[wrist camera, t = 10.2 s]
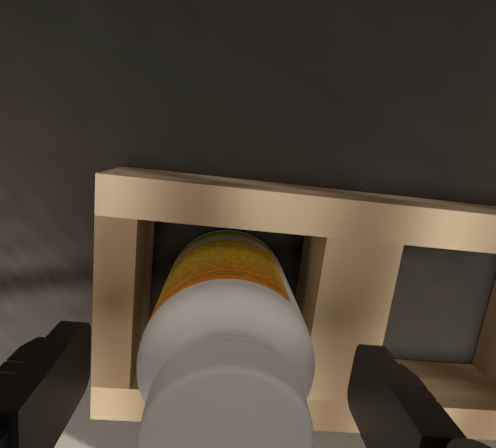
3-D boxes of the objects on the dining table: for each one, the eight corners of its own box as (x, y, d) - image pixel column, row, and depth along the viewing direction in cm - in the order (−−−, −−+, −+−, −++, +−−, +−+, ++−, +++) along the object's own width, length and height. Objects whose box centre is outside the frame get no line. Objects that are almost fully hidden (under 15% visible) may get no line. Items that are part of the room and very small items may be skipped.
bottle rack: (116, 366, 18) (90, 418, 15) (123, 166, 16) (95, 173, 13) (490, 390, 20) (545, 442, 16) (543, 211, 18) (619, 228, 14)
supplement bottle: (148, 265, 17) (49, 419, 8) (245, 205, 17) (269, 291, 7) (209, 350, 18) (190, 576, 9) (301, 297, 18) (386, 473, 8)
